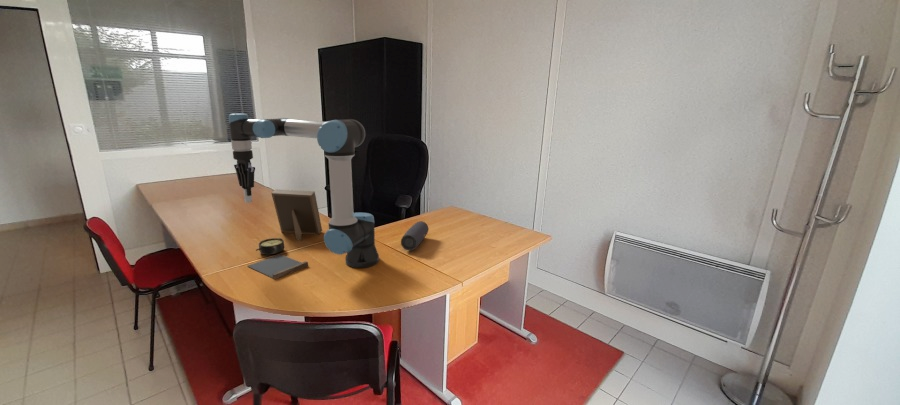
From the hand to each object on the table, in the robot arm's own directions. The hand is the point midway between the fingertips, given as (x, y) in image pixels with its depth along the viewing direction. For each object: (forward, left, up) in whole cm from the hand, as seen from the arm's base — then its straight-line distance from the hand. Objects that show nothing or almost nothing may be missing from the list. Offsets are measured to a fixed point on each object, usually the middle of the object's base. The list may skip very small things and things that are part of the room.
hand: (248, 202), depth 167 cm
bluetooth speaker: (-51, -57, -27) cm, 81 cm away
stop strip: (-28, 0, -26) cm, 38 cm away
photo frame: (+9, -29, -27) cm, 40 cm away
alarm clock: (-5, -2, -24) cm, 25 cm away
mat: (-18, 0, -26) cm, 32 cm away
